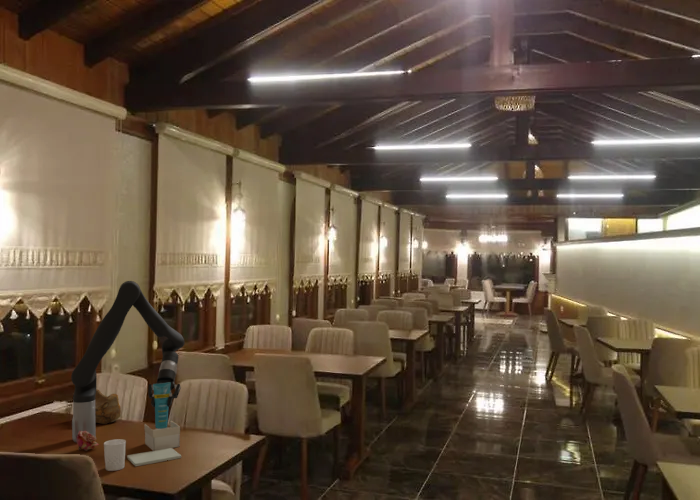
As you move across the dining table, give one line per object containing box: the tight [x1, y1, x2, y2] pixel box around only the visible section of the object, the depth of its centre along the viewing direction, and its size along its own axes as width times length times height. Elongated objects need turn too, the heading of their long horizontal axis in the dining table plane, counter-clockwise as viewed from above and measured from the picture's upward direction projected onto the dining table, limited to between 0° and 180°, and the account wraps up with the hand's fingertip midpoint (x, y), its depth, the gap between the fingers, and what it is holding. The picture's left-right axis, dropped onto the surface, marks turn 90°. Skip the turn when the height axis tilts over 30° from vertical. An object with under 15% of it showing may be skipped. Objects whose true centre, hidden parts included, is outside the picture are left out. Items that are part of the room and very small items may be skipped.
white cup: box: [103, 438, 127, 472], centre depth 242 cm, size 8×8×10 cm
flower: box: [76, 431, 99, 452], centre depth 267 cm, size 10×9×8 cm
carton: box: [144, 420, 181, 451], centre depth 272 cm, size 12×14×8 cm
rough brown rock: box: [95, 388, 122, 425], centre depth 314 cm, size 23×17×15 cm
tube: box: [152, 382, 171, 429], centre depth 273 cm, size 7×5×19 cm, turn 124°
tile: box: [126, 448, 182, 467], centre depth 254 cm, size 18×13×1 cm
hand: (160, 405), depth 271 cm, fingers closed on tube, 5 cm apart
